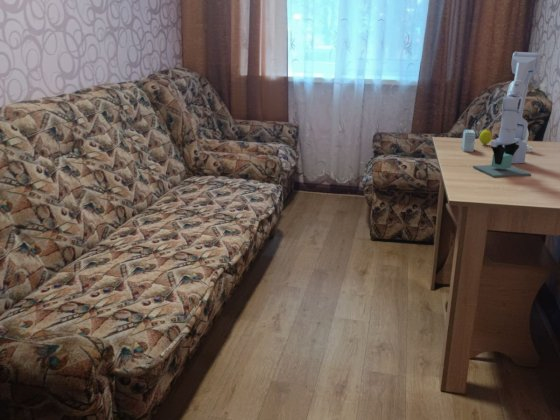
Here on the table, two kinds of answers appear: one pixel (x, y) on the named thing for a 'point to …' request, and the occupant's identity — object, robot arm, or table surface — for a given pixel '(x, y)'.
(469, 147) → the medicine box
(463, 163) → the table surface
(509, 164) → the cube
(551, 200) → the table surface
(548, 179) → the table surface
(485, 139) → the fruit
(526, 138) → the cable organizer
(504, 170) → the grey blue flat plate
